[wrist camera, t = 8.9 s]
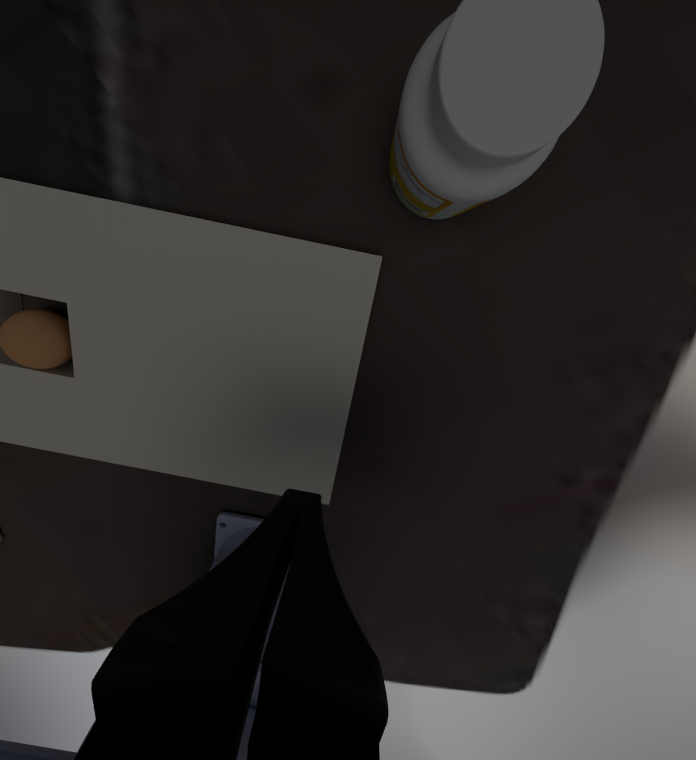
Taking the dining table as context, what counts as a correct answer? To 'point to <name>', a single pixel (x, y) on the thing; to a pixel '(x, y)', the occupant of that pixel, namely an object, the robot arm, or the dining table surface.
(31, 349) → the ball
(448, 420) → the dining table surface
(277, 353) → the white flat board
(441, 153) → the supplement bottle
